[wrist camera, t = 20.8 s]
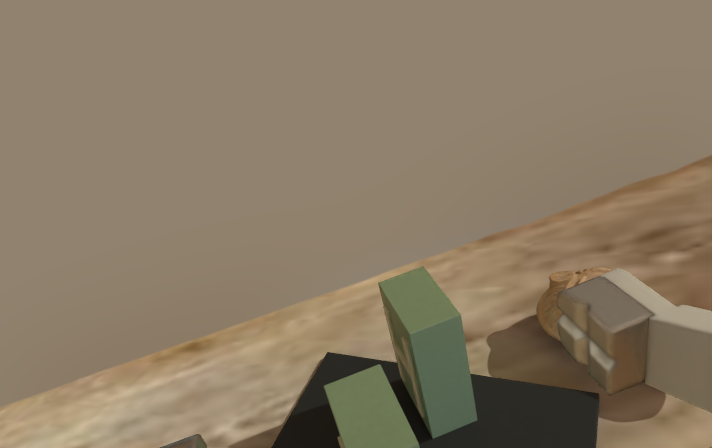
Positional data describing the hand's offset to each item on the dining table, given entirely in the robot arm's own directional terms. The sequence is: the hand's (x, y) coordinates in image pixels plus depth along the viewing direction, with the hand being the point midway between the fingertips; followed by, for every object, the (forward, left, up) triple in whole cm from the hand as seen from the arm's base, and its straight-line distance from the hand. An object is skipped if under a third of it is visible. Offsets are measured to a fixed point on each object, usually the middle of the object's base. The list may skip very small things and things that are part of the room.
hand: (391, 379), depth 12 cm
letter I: (-8, +9, -24) cm, 27 cm away
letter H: (-8, +19, -24) cm, 32 cm away
